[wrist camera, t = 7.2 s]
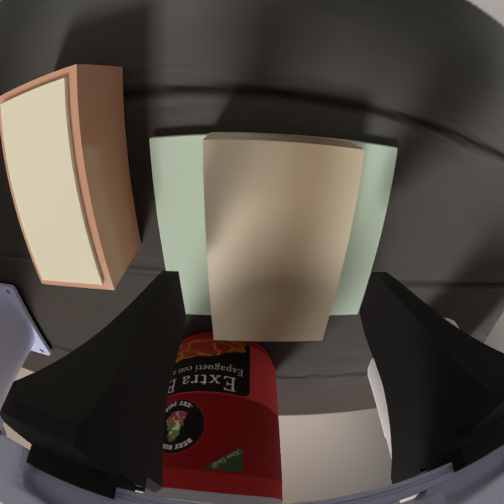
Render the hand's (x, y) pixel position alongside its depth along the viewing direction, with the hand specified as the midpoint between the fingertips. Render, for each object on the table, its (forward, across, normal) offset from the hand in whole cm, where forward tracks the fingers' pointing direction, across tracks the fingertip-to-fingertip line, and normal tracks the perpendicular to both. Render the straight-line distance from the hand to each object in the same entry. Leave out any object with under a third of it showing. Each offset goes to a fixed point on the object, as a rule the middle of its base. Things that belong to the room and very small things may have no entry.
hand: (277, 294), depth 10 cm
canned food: (+5, +3, +10) cm, 12 cm away
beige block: (+4, 0, 0) cm, 4 cm away
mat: (+4, 0, 0) cm, 4 cm away
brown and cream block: (+4, +9, -4) cm, 11 cm away
